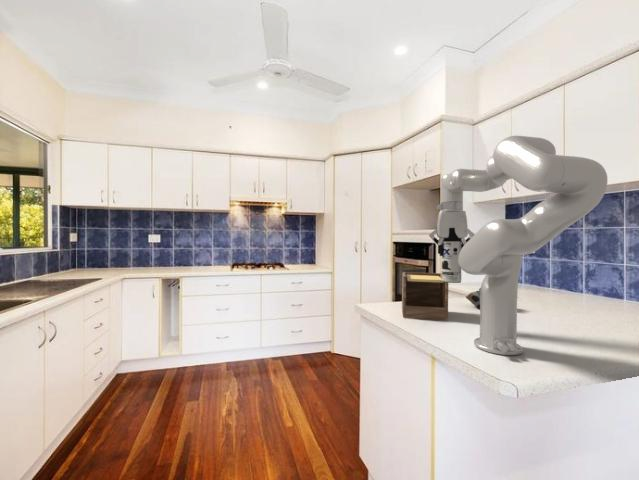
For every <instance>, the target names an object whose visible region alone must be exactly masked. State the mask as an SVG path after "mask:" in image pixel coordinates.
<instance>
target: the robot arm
mask: <svg viewBox="0 0 639 480" xmlns="http://www.w3.org/2000/svg"><path fill="white" fill-rule="evenodd" d="M556 149H557V148H556V147H555V145H554V144H553V142H551V141H550V140H549V139H547V138H543V137H535V136H534V137H533V136H528V135H527V136H526V135H511V136H508V137H505V138H503V139H502V140H501V141H500V142H499V143H497V145H496V146H495V148H494V150H493V153H492V155H491V156H490V157H489V159H488V160H487V162H486V169H474V168H473V169H470V168H468V169H467V168H457V169H455V170H453V171H451V172H450V173H449V174H448V173H447V174H444V175H443V176H442V177H441V178H440V204H436V210H437V209H439V210H440V211H439V212H438V217H437V224H436V228H435V229H434V230H433V231H432V232H430V233H429V234H428V236H429V238H431V240H432V241H433V242H434V243H435V244H436V245H437V254H438V255H439V256H440V257H442V256H443V246H442V242H443V240H444V238H448V237H449V228H455V233H456V235H457V236H458V238H461V241H462V242H461V251H460V253H459V257H458V262H459V265H460V267H461V271H463V272H464V273H466V274H468V275H473V276H475V275H476V276H483V275H484V278H483V280H482V282H481V286H480V288H481V294H480V307H479V337H477V338H474V340H473V344H474V346H475V347H476V348H478V349H480V350H482V351H484V352H486V353H487V352H488V353H491V354H496V355H500V356H518V355H519V356H520V355H521V354H522V353H523V352H524V348H523V346H521V344H518V343H517V332H518V331H517V330H518V328H517V327H518V325H517V324H518V288H519V278H520V274H521V269H522V264H523V255H530V254H533V253H536V252H537V251H538V250H539V249H541V248H542V247H544V246H545V245H547V244H548V243H549V242H551V241H552V240H553V239H555V238H556V237H557V236H559V235H560V234H562V233H563V232H564V231H565V230H567V229H568V228H569V227H570V226H573V225H574V224H575V223H576V222H578V221H579V220H581V219H582V218H584V217H585V216H586V215H588V214H589V213H590V212H591V211H592V210H593V211H594V209H595V208H596V207H597V206H598V204H600V202H601V200H603V198H604V196H605V193H606V191H607V187H608V174H607V171H606V169H605V167H604V166H603V165H602V164H601V163H600V162H599V161H596V160H594V159H591V158H586V157H581V156H574V155H560V154H557V151H556ZM509 180H514V181H515V182H516V183H518V184H519V185H520V186H522V187H523V188H526V189H527V190H529V191H532V192H538V193H552V194H554V195H552V196H550V197H548V198H546V199H544V200H543V201H541V202H539V203H538V204H536V205H535V206H534V207H532V209H531V210H529V212H527V213H525V214H524V215H523V216H522V217H520V218H514V219H513V218H511V219H510V218H508V219H507V218H503V219H502V218H500V219H494V220H491V221H489V222H487V223H485V224H484V225H482V227H481V228H480V229H479V230H477V232H475V233H474V232H473V231H471V230H470V229H469V228H468V219H467V212H466V210H464V192H473V193H474V192H475V193H483V192H488V191H491V190H495V189H497V188H500V187H502V186H504V184H506V182H507V181H509ZM435 235H436V236H435ZM468 235H469V236H468Z"/></svg>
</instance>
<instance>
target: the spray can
mask: <svg viewBox="0 0 639 480" xmlns="http://www.w3.org/2000/svg"><path fill="white" fill-rule="evenodd" d="M461 242H462V241H461V238H458V236H457V235H456V233H455V228H449V237H448V238H444V240H443V242H442V246H443V256H441V273H442V281H443V282H448V284H460V283H462V269H461V267H460V265H459V262H458V257H459V253H460V251H461V244H462V243H461Z"/></svg>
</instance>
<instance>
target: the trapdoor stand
mask: <svg viewBox="0 0 639 480" xmlns="http://www.w3.org/2000/svg"><path fill="white" fill-rule="evenodd" d="M407 274H409V275H427V276H439V277H440V278H442V272H441V273H439V272H436V273H435V272H415V271H413V272H412V271H411V272H410V271H402V276H401V278H402V279H401V280H402V283H401V312H402V318H403V319H413V320H414V319H415V320H416V319H417V320H428V321H429V320H430V321H440V322H441V321H442V322H443V321H444V322H445V321H446V322H448V321H449V283H448V282H444V283H441V282H418V281H407V278H406V275H407Z"/></svg>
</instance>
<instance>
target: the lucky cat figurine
mask: <svg viewBox="0 0 639 480" xmlns="http://www.w3.org/2000/svg"><path fill="white" fill-rule="evenodd" d="M480 294H481V287H479V289H478V290H476V291H475V290H474V291H472V292H470V293H468V294H467V295H466V296H465V298H466V300H468V301H469V302H470V303H471V304H473V305H474V306H475V307H477V308H480Z"/></svg>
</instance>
